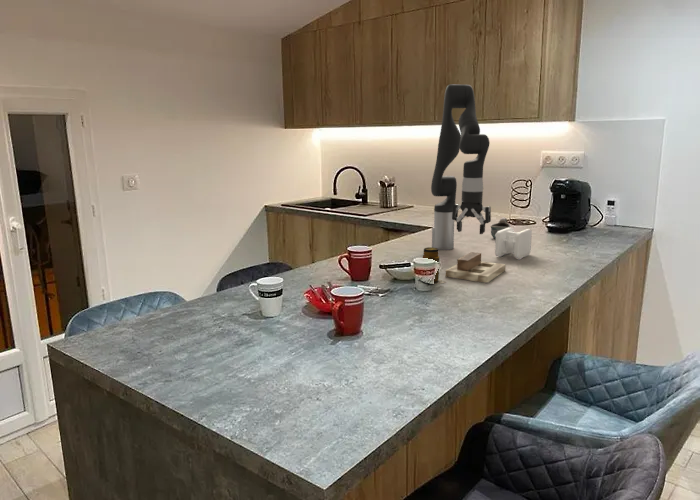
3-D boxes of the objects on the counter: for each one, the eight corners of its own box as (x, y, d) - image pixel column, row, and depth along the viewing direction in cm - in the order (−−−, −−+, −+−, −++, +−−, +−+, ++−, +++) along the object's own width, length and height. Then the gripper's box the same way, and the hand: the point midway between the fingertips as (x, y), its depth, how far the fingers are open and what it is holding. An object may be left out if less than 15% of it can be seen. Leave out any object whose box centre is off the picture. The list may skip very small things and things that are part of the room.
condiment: (432, 277, 195) (433, 245, 192) (446, 282, 188) (447, 250, 185) (416, 279, 192) (416, 247, 189) (429, 285, 185) (430, 252, 182)
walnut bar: (456, 274, 196) (457, 259, 194) (470, 266, 207) (471, 252, 206) (467, 276, 194) (467, 260, 192) (480, 268, 205) (481, 253, 204)
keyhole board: (445, 276, 195) (445, 270, 195) (465, 265, 211) (466, 259, 211) (487, 283, 186) (487, 276, 186) (505, 270, 203) (505, 264, 202)
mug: (488, 240, 259) (489, 220, 257) (491, 235, 270) (492, 216, 268) (508, 241, 256) (509, 221, 253) (511, 236, 267) (512, 217, 265)
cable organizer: (517, 261, 217) (518, 234, 214) (493, 258, 223) (494, 231, 221) (531, 254, 228) (532, 228, 225) (507, 251, 234) (509, 226, 232)
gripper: (450, 189, 194) (448, 232, 198) (487, 191, 186) (485, 236, 190) (458, 187, 200) (456, 229, 204) (494, 189, 192) (492, 233, 196)
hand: (470, 232), depth 197 cm, fingers open, 8 cm apart
